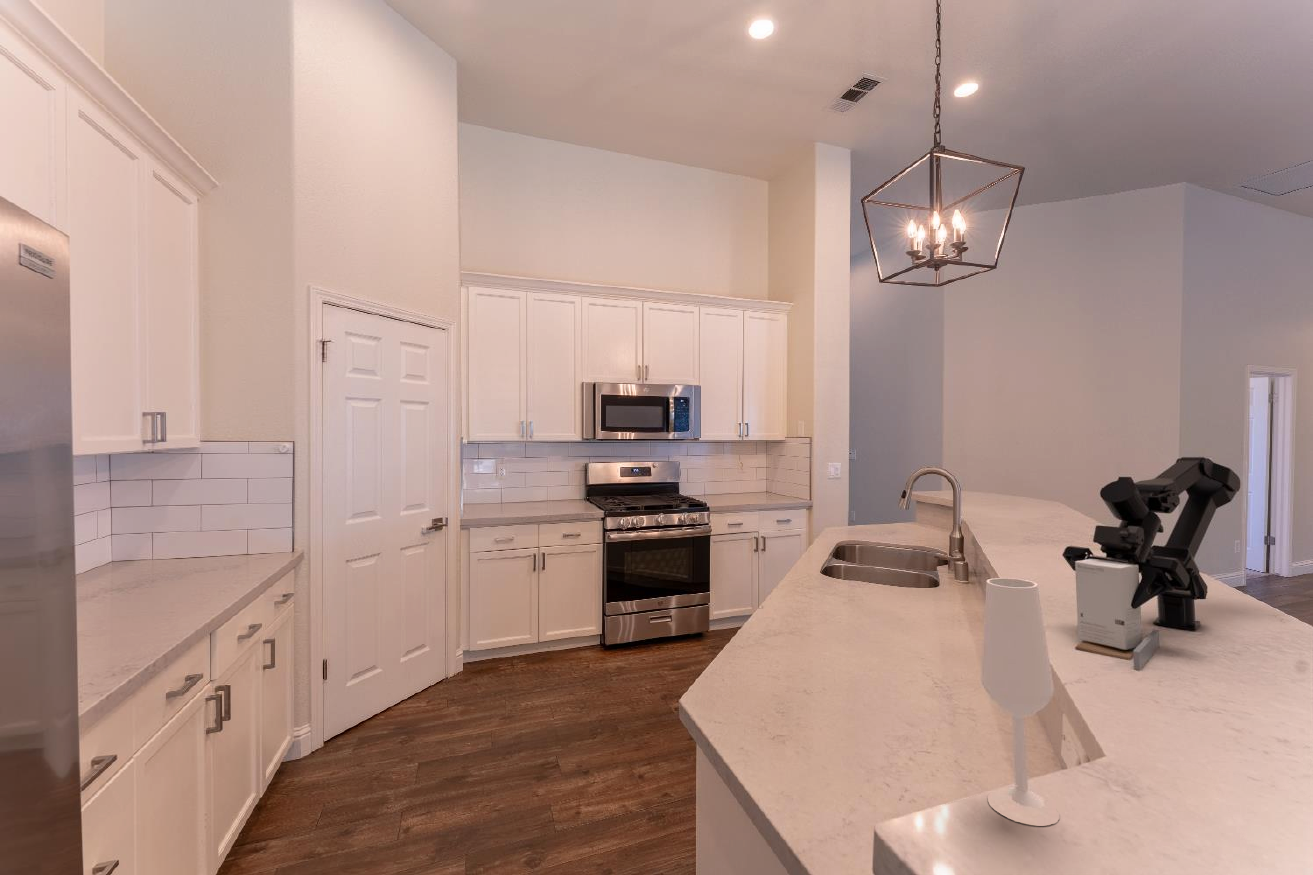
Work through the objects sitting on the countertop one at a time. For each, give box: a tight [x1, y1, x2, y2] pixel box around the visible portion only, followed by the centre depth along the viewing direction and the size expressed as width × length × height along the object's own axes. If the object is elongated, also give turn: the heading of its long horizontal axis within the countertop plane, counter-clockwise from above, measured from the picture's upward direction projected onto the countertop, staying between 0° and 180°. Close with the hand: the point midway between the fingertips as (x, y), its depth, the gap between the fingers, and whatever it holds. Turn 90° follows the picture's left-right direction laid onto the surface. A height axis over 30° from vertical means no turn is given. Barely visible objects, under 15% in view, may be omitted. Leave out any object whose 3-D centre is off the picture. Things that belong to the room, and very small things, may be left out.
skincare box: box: [1074, 559, 1143, 650], centre depth 110 cm, size 8×6×15 cm
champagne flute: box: [980, 577, 1055, 808], centre depth 64 cm, size 7×7×24 cm
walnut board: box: [1074, 640, 1136, 661], centre depth 109 cm, size 11×8×1 cm
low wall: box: [1132, 628, 1161, 671], centre depth 104 cm, size 16×1×3 cm, turn 130°
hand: (1106, 602), depth 110 cm, fingers closed on skincare box, 8 cm apart
